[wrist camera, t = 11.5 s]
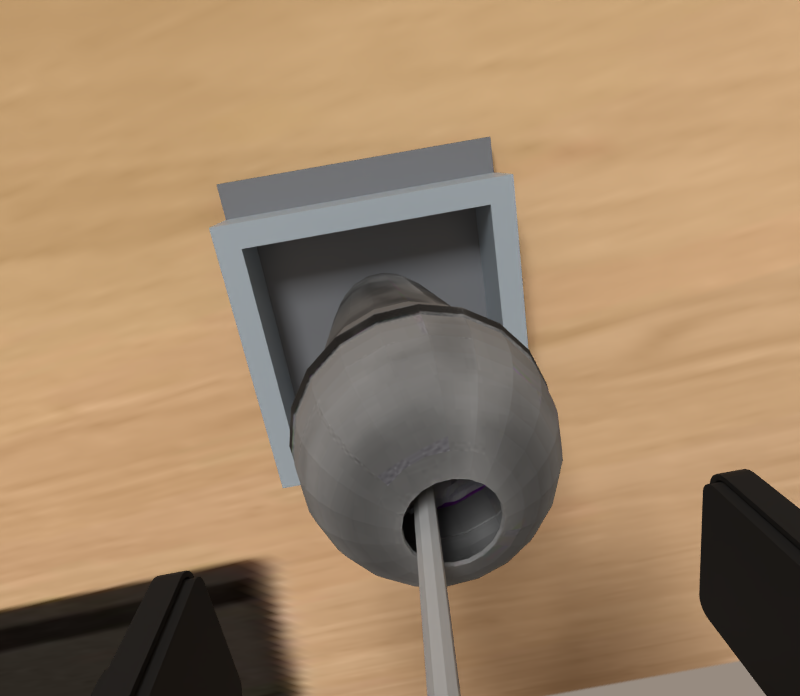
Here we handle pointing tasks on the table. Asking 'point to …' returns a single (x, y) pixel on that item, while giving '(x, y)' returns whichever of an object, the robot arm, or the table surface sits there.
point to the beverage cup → (425, 447)
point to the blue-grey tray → (361, 255)
